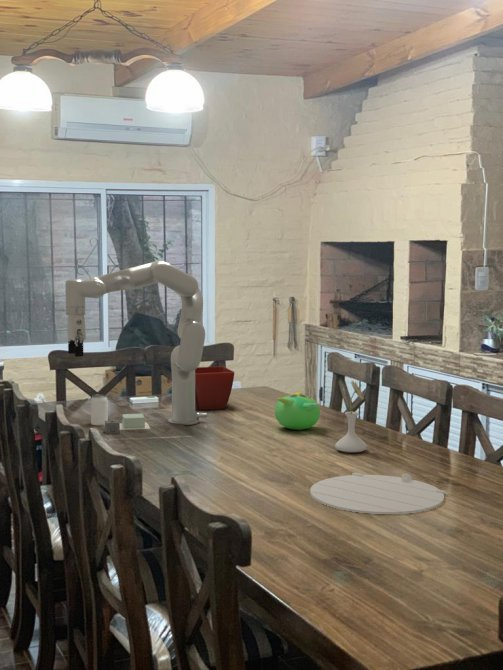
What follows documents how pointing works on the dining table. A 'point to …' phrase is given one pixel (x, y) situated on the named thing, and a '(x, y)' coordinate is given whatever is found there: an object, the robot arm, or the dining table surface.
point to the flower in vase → (352, 429)
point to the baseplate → (134, 428)
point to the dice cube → (112, 427)
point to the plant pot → (212, 387)
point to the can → (99, 409)
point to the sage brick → (133, 420)
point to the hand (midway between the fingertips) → (75, 354)
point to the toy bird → (297, 411)
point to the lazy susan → (377, 494)
